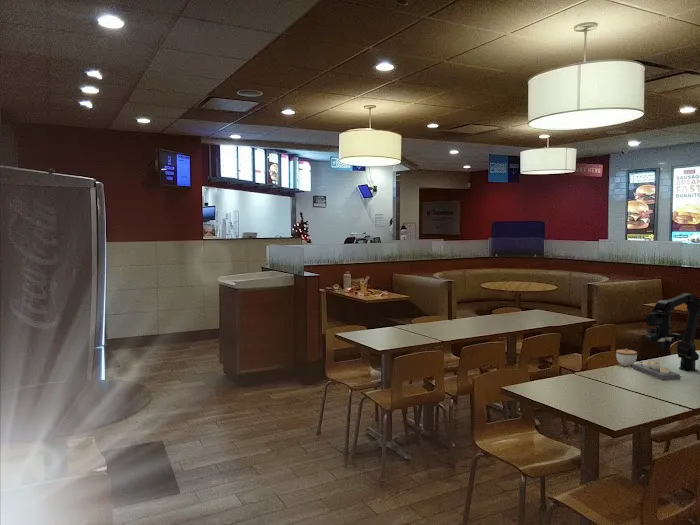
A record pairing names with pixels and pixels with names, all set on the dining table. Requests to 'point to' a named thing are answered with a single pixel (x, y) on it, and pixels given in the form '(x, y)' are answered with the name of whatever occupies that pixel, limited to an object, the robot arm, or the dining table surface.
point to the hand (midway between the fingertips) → (663, 353)
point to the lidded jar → (626, 357)
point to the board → (656, 372)
